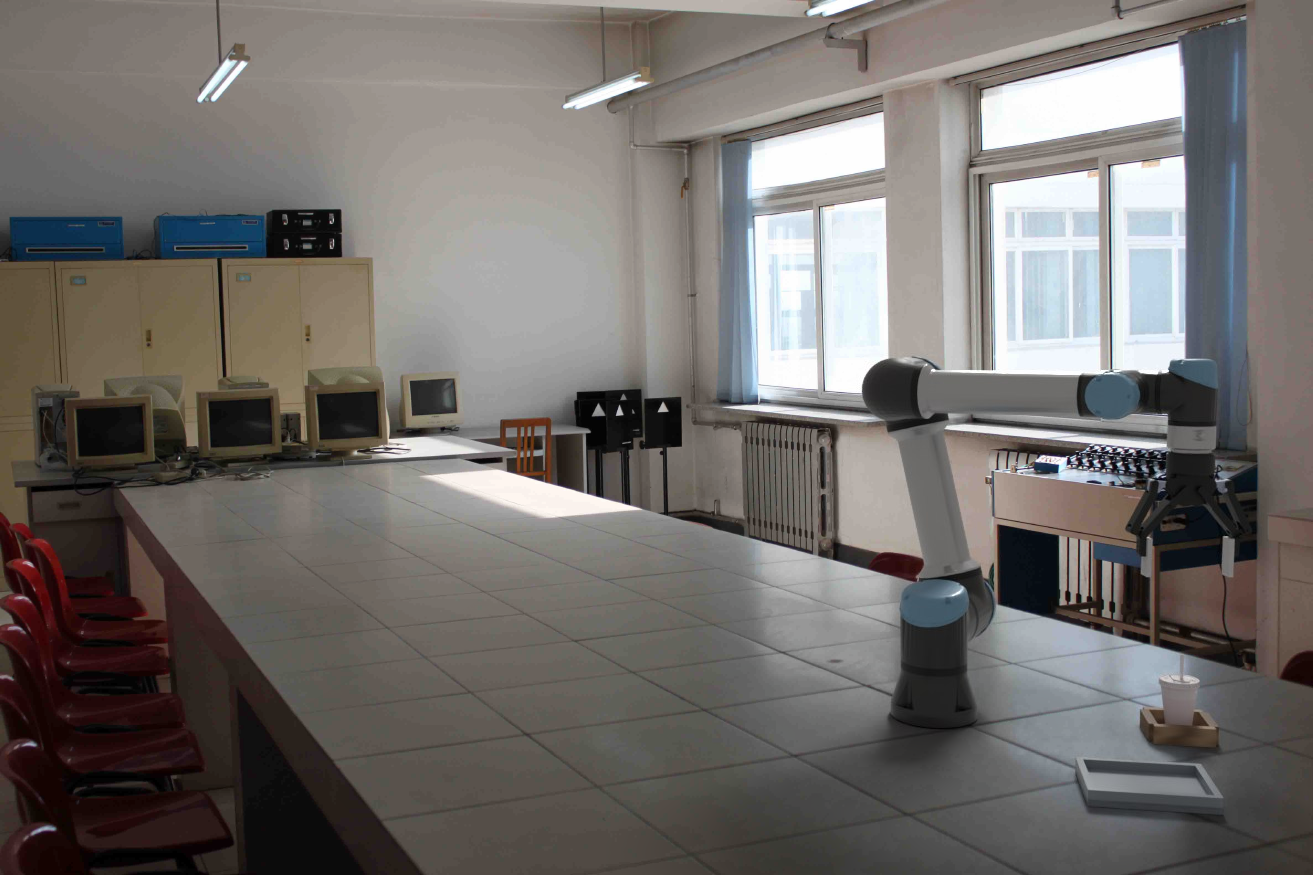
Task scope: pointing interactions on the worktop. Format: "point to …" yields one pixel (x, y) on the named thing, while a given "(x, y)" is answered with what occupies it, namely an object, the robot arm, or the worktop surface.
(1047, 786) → the worktop surface
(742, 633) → the worktop surface
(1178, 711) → the smoothie
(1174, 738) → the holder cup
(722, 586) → the worktop surface
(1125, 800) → the tray
